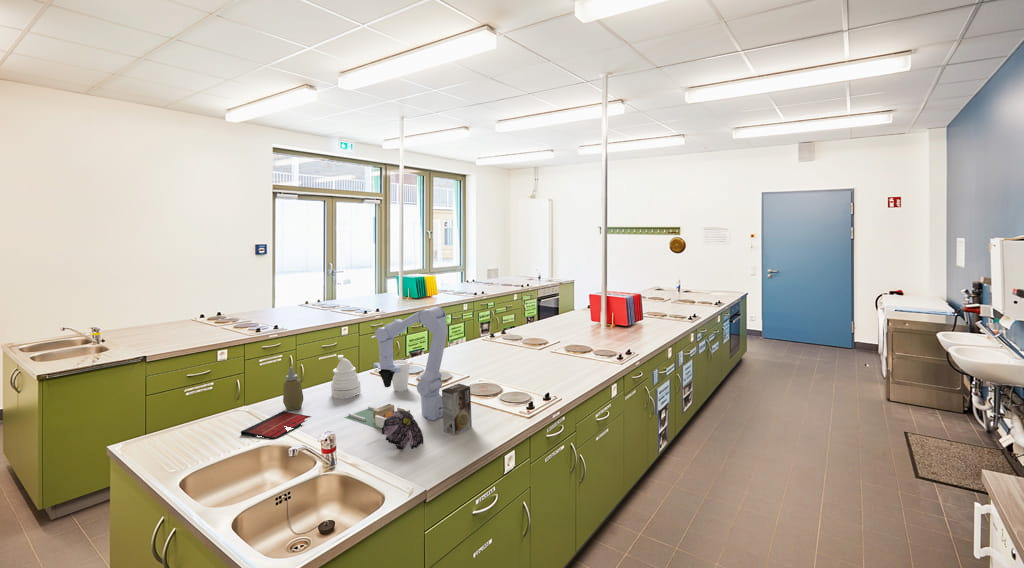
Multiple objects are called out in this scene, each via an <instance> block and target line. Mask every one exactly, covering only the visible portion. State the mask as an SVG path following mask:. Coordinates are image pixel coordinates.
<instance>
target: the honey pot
mask: <svg viewBox="0 0 1024 568" xmlns="http://www.w3.org/2000/svg"><path fill="white" fill-rule="evenodd" d="M337 359H338V360H339V362H338V364H337V366H336V368H334V369H333V370H332V373H334V374H333V376H332V382H331V384H330V386H331V388H330V389H331V397H332V396H333V397H332V398H334V397H335V399H347V398H346V397H350V398H352V397H351V396H354V395H357V394H358V393H360V392H361V393H362V391H361V390H362V389H361V380H360V379H359V376H358V373H357V371H356V370H357V369H356V367H355V366H353V363H352V362H351V361H350V360H348V359H347V358H344V354H340V355H339V354H338V355H337ZM361 393H360V394H361ZM357 396H358V395H357ZM354 397H355V396H354Z"/></svg>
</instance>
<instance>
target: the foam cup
mask: <svg viewBox="0 0 1024 568" xmlns="http://www.w3.org/2000/svg"><path fill="white" fill-rule="evenodd" d="M393 361H394V365H396V366H398V367H400V371H401V372H398V373H394V375H393V378H392V381H391V383H392V387H393V391H395V392H404V390H405V391H408V386H409V375H410V367H411V362H410V361H409V360H408V359H396V360H393Z"/></svg>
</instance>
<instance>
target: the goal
mask: <svg viewBox="0 0 1024 568" xmlns="http://www.w3.org/2000/svg"><path fill="white" fill-rule="evenodd" d="M396 409H397V410H396V411H400V410H403V411H407V412H409V413H410V414H411V410H410V409H409V408H405V407H401V406H397V407H396ZM393 416H394V415H393ZM386 419H387V418H384V417H381V416H378V415H376V416H375V424H376V426H377V427H380V428H383V425H384V420H386Z"/></svg>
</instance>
